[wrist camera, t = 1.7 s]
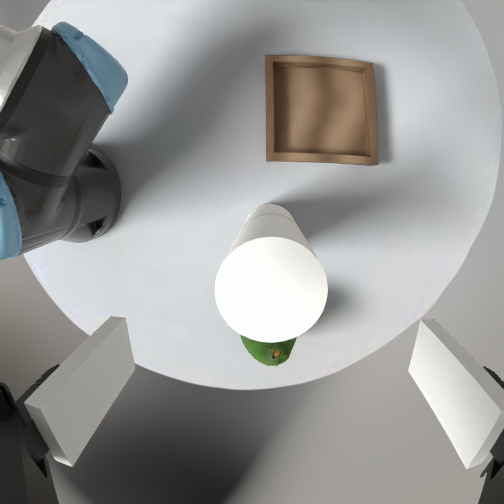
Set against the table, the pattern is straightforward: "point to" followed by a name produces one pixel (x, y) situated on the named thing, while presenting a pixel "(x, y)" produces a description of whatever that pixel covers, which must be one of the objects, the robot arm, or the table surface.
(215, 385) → the table surface
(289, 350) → the avocado
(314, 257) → the cylindrical container
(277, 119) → the tray
